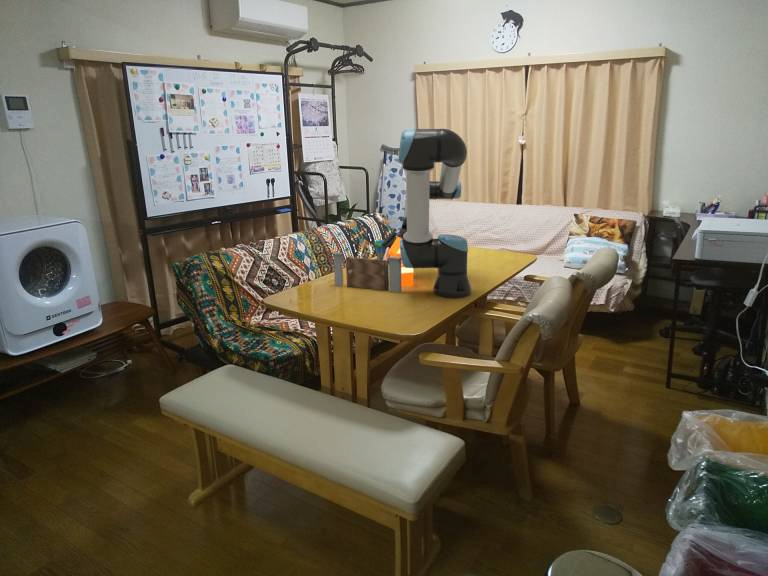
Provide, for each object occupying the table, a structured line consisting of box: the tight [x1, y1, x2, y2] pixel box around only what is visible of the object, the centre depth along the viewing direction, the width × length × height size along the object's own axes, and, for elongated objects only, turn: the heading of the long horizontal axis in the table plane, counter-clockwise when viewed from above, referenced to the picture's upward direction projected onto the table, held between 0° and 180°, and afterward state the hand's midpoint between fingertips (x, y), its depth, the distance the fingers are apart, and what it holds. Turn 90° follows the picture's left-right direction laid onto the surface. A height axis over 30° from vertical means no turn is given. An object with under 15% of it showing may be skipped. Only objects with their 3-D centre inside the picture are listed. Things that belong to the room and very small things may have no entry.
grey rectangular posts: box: [332, 251, 402, 293], centre depth 220 cm, size 30×3×14 cm, turn 66°
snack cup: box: [373, 239, 390, 264], centre depth 266 cm, size 16×10×10 cm
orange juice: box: [390, 236, 414, 288], centre depth 225 cm, size 8×9×20 cm
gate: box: [345, 256, 390, 291], centre depth 220 cm, size 19×2×12 cm, turn 66°
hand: (399, 262), depth 223 cm, fingers open, 13 cm apart
